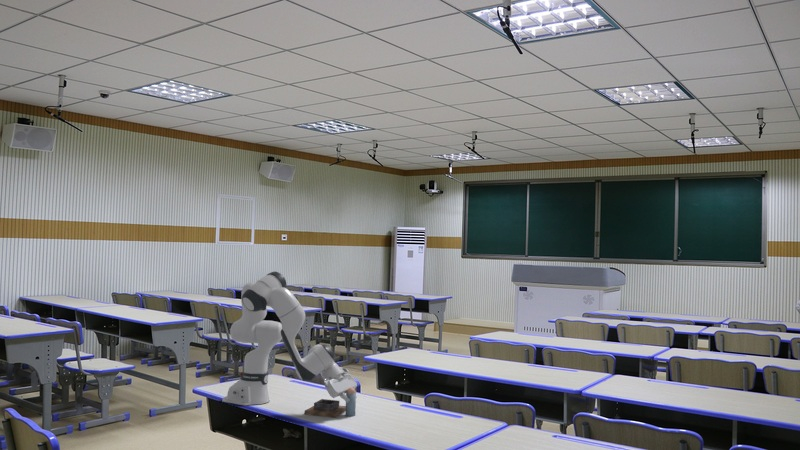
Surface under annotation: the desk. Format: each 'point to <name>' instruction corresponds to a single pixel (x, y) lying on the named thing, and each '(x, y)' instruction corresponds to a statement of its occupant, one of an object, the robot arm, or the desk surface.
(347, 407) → the peach-tipped grey cylinder
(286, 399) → the desk surface
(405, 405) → the desk surface
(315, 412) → the jig
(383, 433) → the desk surface
